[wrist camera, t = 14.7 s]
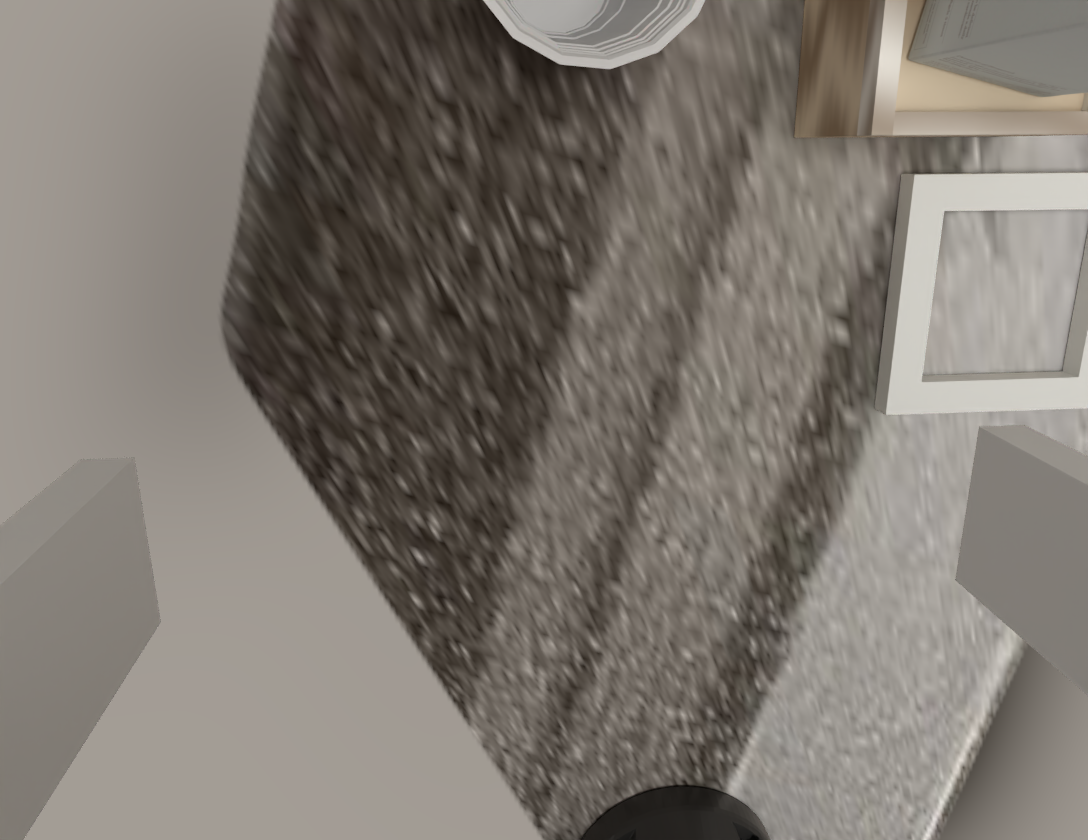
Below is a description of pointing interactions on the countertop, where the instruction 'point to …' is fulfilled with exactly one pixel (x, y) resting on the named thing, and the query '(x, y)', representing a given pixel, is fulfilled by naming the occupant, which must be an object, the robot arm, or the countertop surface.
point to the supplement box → (1008, 43)
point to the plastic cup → (595, 27)
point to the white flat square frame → (913, 287)
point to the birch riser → (905, 83)
